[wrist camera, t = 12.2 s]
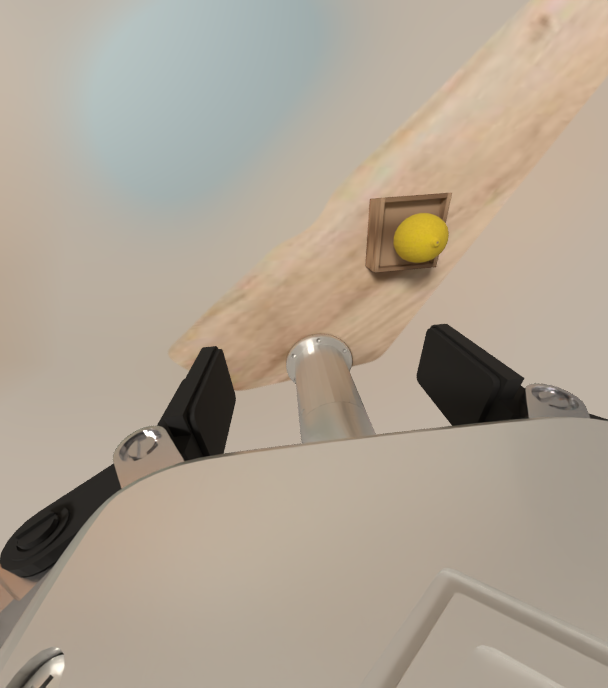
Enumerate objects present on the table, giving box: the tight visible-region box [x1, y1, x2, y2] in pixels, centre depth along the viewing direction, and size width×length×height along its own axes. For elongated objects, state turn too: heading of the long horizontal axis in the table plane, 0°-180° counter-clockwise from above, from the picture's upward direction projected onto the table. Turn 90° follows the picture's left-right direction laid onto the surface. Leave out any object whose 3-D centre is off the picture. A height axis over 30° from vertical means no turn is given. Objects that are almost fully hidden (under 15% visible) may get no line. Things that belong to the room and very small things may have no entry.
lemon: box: [393, 213, 448, 263], centre depth 29 cm, size 6×6×8 cm
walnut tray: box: [365, 193, 452, 272], centre depth 33 cm, size 9×9×4 cm
